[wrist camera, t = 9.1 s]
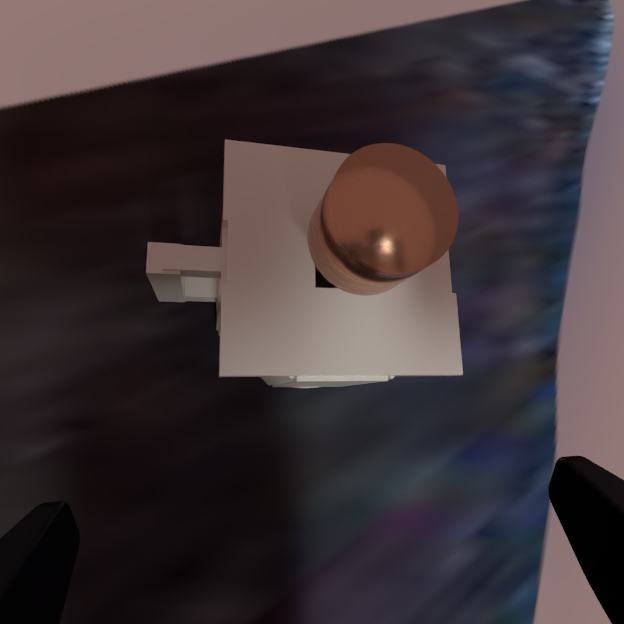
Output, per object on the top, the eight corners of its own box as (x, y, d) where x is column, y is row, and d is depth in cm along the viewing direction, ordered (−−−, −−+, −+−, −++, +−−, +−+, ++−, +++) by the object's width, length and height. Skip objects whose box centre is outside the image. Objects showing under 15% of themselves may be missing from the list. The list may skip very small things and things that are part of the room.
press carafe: (388, 387, 20) (465, 380, 14) (157, 389, 18) (133, 383, 12) (380, 226, 22) (446, 159, 16) (166, 209, 19) (150, 124, 13)
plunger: (369, 359, 19) (509, 321, 10) (244, 358, 18) (283, 315, 9) (364, 241, 20) (487, 117, 11) (246, 233, 19) (282, 86, 10)
